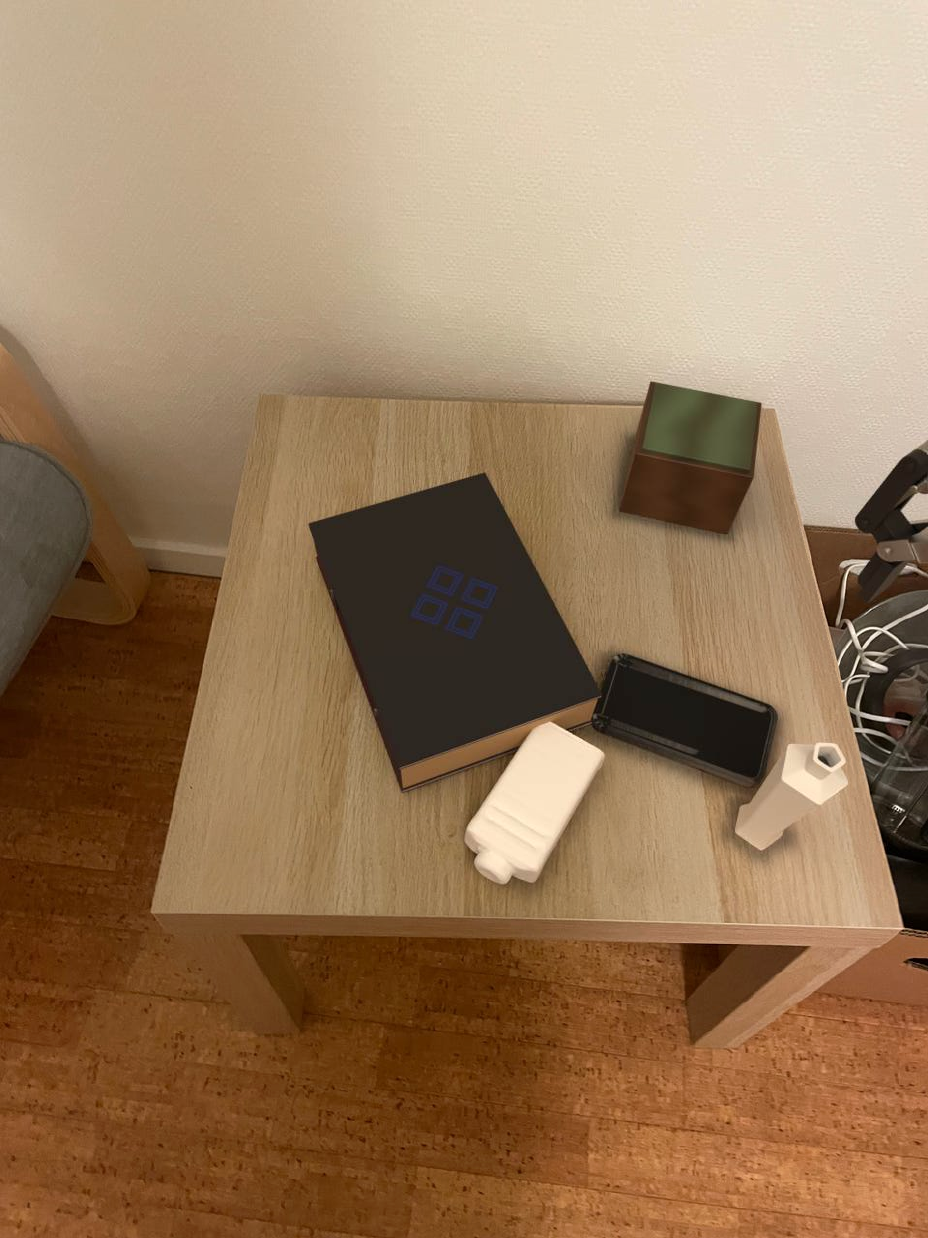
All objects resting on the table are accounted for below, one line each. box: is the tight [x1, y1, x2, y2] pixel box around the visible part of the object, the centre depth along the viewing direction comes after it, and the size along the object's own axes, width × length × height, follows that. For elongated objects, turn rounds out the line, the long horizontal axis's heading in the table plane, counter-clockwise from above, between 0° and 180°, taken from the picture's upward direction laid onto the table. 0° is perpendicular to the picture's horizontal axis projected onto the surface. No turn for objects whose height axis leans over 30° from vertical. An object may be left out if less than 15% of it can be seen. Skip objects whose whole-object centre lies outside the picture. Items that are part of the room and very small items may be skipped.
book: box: [307, 471, 602, 794], centre depth 75 cm, size 17×25×7 cm
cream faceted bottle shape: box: [734, 741, 849, 851], centre depth 63 cm, size 5×4×15 cm
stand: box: [619, 380, 763, 535], centre depth 84 cm, size 11×10×9 cm
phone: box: [591, 652, 779, 788], centre depth 73 cm, size 8×1×15 cm
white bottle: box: [463, 721, 606, 885], centre depth 67 cm, size 6×13×4 cm, turn 148°
